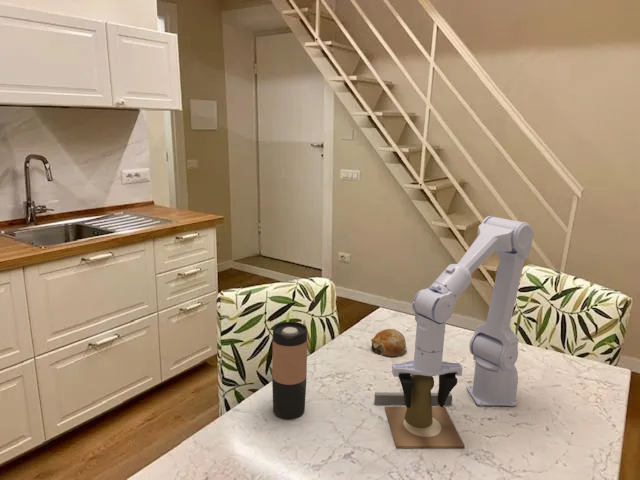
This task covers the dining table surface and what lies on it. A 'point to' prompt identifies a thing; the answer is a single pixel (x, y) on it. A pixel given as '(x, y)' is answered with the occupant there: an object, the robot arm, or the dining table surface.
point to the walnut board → (423, 430)
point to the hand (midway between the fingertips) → (424, 404)
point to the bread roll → (389, 343)
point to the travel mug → (289, 369)
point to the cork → (420, 402)
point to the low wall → (398, 398)
